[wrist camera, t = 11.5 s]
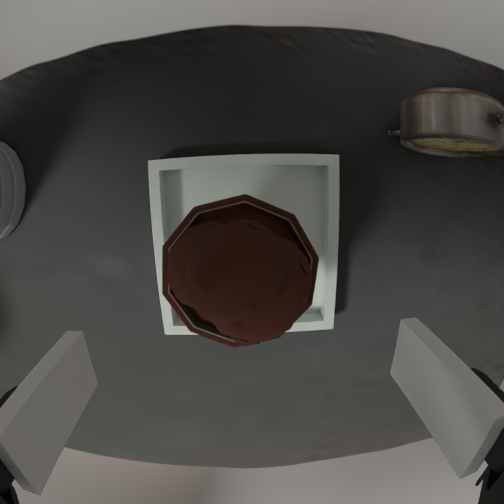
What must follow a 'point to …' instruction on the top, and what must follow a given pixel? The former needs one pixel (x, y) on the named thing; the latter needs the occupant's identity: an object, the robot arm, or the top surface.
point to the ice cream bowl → (239, 271)
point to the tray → (263, 188)
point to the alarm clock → (452, 123)
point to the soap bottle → (10, 190)
